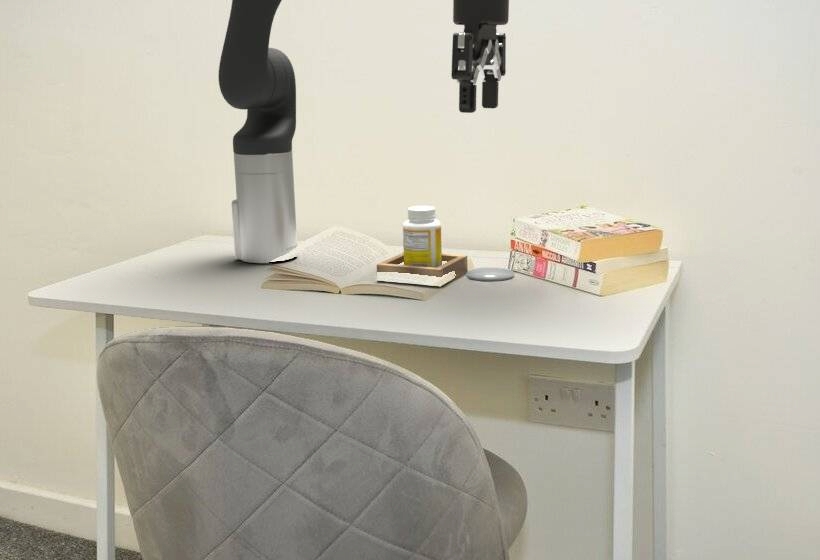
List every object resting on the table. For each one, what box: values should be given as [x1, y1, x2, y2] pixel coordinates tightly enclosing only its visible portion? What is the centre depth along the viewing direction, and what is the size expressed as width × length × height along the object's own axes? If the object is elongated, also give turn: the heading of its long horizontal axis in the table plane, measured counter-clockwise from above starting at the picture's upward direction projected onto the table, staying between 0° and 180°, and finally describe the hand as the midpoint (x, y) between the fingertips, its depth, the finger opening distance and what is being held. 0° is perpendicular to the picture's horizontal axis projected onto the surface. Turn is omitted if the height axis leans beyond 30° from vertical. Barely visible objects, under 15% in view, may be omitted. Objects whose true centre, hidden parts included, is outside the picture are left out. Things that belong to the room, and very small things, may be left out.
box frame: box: [376, 251, 469, 279], centre depth 140 cm, size 10×10×2 cm
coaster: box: [465, 267, 515, 282], centre depth 140 cm, size 7×7×1 cm
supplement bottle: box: [402, 205, 443, 268], centre depth 139 cm, size 6×6×10 cm
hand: (478, 110), depth 133 cm, fingers open, 8 cm apart
